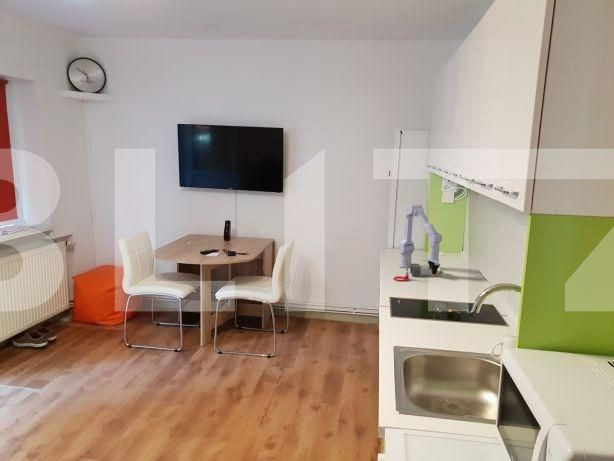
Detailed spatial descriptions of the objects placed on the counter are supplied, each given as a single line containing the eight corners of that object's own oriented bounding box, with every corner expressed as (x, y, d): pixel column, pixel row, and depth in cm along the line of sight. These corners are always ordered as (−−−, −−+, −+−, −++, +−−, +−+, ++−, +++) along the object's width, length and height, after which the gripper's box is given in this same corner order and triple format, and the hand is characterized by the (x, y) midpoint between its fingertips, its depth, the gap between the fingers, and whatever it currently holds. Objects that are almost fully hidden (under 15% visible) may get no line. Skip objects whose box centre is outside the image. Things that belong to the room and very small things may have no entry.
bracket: (410, 272, 283) (410, 263, 282) (418, 272, 283) (418, 263, 282) (412, 276, 274) (412, 267, 273) (420, 276, 274) (420, 267, 273)
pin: (415, 273, 280) (415, 267, 280) (435, 274, 280) (435, 267, 279) (416, 275, 276) (416, 269, 275) (437, 276, 275) (437, 269, 275)
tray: (411, 269, 292) (411, 266, 292) (438, 269, 291) (438, 266, 290) (413, 272, 283) (413, 270, 282) (441, 273, 281) (441, 270, 281)
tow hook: (394, 282, 264) (409, 281, 264) (394, 261, 262) (409, 261, 262) (392, 278, 273) (407, 277, 272) (392, 258, 271) (407, 257, 270)
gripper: (424, 249, 282) (423, 270, 284) (431, 255, 268) (430, 276, 270) (435, 249, 282) (434, 270, 285) (442, 255, 268) (441, 276, 270)
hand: (433, 273), depth 277 cm, fingers closed on pin, 5 cm apart
